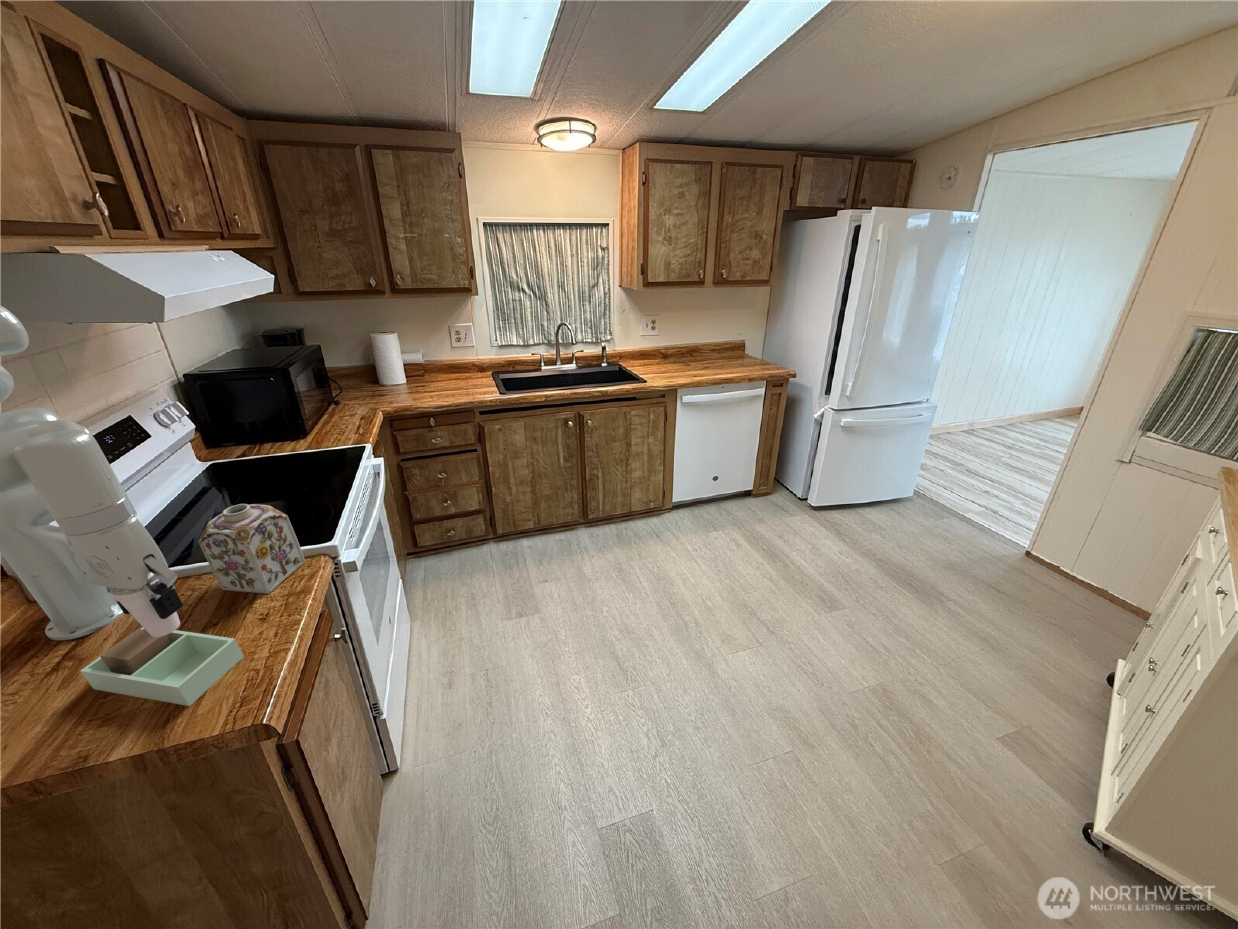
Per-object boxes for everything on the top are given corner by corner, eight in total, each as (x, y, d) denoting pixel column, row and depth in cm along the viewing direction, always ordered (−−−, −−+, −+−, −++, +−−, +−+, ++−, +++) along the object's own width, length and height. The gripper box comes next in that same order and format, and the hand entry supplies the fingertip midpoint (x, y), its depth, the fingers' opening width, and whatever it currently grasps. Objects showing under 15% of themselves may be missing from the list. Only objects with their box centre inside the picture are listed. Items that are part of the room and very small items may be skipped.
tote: (95, 691, 81) (80, 670, 79) (157, 645, 90) (144, 625, 88) (191, 708, 78) (177, 687, 76) (245, 658, 87) (234, 638, 85)
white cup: (200, 613, 81) (163, 546, 75) (169, 642, 75) (126, 572, 69) (162, 615, 81) (121, 548, 75) (128, 645, 75) (81, 574, 69)
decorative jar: (220, 592, 104) (185, 522, 96) (263, 559, 114) (234, 493, 106) (270, 595, 102) (238, 525, 94) (308, 562, 112) (282, 496, 105)
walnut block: (117, 680, 83) (99, 655, 80) (153, 653, 88) (137, 629, 85) (145, 685, 82) (128, 660, 79) (179, 657, 87) (165, 633, 84)
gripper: (17, 525, 67) (84, 621, 75) (116, 535, 64) (175, 634, 72) (80, 498, 73) (136, 589, 81) (172, 506, 70) (221, 599, 78)
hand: (154, 609), depth 76 cm, fingers closed on white cup, 6 cm apart
